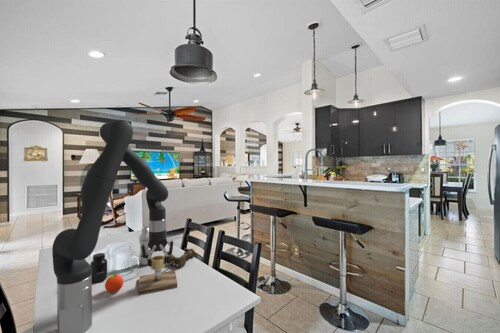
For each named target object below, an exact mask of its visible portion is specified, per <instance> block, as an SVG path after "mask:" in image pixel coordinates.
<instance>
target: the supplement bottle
mask: <svg viewBox="0 0 500 333" xmlns="http://www.w3.org/2000/svg"><path fill="white" fill-rule="evenodd" d="M89 264H90V266H91V269H92V284H98V283H101V282H104V281H106V280H105V279H108V260H107V258H106V254H105V253H104V252H97V253H95V254H93V256H92V261H90V263H89Z"/></svg>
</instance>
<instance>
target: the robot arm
mask: <svg viewBox="0 0 500 333" xmlns="http://www.w3.org/2000/svg"><path fill="white" fill-rule="evenodd" d="M99 135H100V138H101V140H102V141H104V143H105V146H104V149H103V151H102V152H101V153H100V155H99V156H98V157H97V158H96V160H95V161H94V162H93V164H91V166H90V167H89V169H88V170H87V173H86V175H85V177H84V180H83V183H82V185H81V188H80V200H81V201H80V202H81V215H80V219H79V221H78V225H77V227H76V228H68V229H65V230H62V231H61V232H59V233H58V234H57V235H56V237H55V238H54V240H53V243H52V253H51V254H52V265H53V266H52V267H53V273H54V275H55V276H56V295H57V296H56V297H57V299H56V307H57V309H56V310H57V311H56V313H57V314H56V316H57V319H56V320H57V323H56V324H57V333H85V332H86V331H88V329H90V328H91V327H92V324H93V302H92V301H93V293H92V292H93V291H92V290H93V288H92V287H93V283H92V269H91V266H90V263H89V262H88V261H87V260H86V258H88V257H89V256H90V255H91V254H92V253H93V252H94V251H95V248H96V246H97V243H98V241H99V240H98V239H99V235H100V231H101V227H102V222H103V218H104V215H105V212H106V208H107V205H108V202H109V199H110V196H111V195H112V194H111V193H112V192H113V188H114V185H115V183H116V179H117V176H118V173H119V170H120V168H121V165H122V162H123V163H125V165H126V166H127V167H128V169H129V170H130V171H131V173H132V174H133V176H134V177H135V179H136V180H137V181H138V183H139V184H140V185H141V186H143V187H144V188H146V193H145V198H146V203H147V207H148V212H149V213H148V215H149V216H148V227H149V242H148V244H142V246H141V248H142V254H143V258H147V259H148V265H147V266H148V267H149V268H151V256H152V257H153V254H154V253H156V252H162V253H163V254H164V256H165V266H166V265H167V263H168V256H169V255H171V254H173V249H174V240H173V239H172V240H167V219H166V208H165V206H164V205H162V202H165V201H166V200H167V199H168V198H169V190H168V187H166V185H165V184H164V183H163V182H162V181H161V180H160V179H159V178H158V177H157V176H156V175H155V173H154V172H153V170H152V167H150V165H149V164H148V162H146V161H145V160H144V159H143V158H142V157H140V156H139V155H138V154H137V153H136V152H135V151H134V150H133V149H132V148H131V146H130V144H131V141H132V139H133V136H134V129H133V126H132V124H131V123H130V122H129V121H128V120H126V119H115V120H112V121H109V122H108V121H107V122H105V123H103V124H102V125H101V126H100V128H99ZM167 245H168V246H169V248H168V249H169V250H168V251H167V249H166V246H167ZM147 246H148V247H149V248H150V249H151V250H150V252H149V254H148V255H147V254H146V250H145V249H146V248H147Z"/></svg>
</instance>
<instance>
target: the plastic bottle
mask: <svg viewBox="0 0 500 333" xmlns="http://www.w3.org/2000/svg"><path fill="white" fill-rule="evenodd" d="M138 240H139V248H140V250H139V256H138V262H140V263H139V265H140V266H148V259H147V258H143V254H142V248H141V246H142V244H148V242H149V226H144V227H141V234H140V236H139V238H138ZM145 250H146V254H147V255H148V254H149V252H150V250H151V249H150V248H149V247H148V246H147V248H146V249H145ZM152 257H153V255H152V256H151V258H152Z"/></svg>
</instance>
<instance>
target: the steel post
mask: <svg viewBox="0 0 500 333" xmlns="http://www.w3.org/2000/svg"><path fill="white" fill-rule="evenodd" d="M153 271H154V272H153V274H154V275H155V281H160V280H161V279H162V278H161V273H162V268H161V269H158V270H153Z"/></svg>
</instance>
